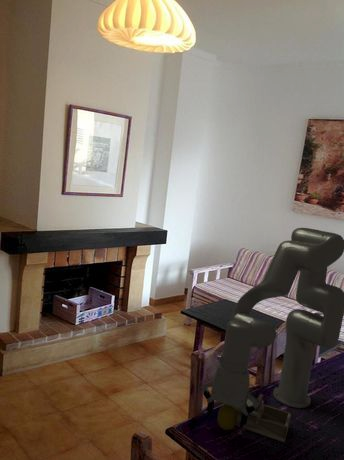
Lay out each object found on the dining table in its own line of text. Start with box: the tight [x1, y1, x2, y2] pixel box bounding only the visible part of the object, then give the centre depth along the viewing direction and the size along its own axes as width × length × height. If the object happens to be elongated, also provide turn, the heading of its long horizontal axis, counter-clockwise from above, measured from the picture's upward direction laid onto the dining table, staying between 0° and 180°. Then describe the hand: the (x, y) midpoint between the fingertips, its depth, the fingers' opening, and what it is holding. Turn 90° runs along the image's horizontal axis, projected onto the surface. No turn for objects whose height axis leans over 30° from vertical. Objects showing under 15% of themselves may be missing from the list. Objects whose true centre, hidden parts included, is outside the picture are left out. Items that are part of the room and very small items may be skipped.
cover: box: [234, 393, 264, 417], centre depth 127 cm, size 9×8×3 cm
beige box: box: [234, 403, 292, 443], centre depth 126 cm, size 9×16×4 cm, turn 67°
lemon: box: [217, 404, 237, 431], centre depth 121 cm, size 6×6×8 cm
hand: (225, 419), depth 121 cm, fingers open, 9 cm apart
